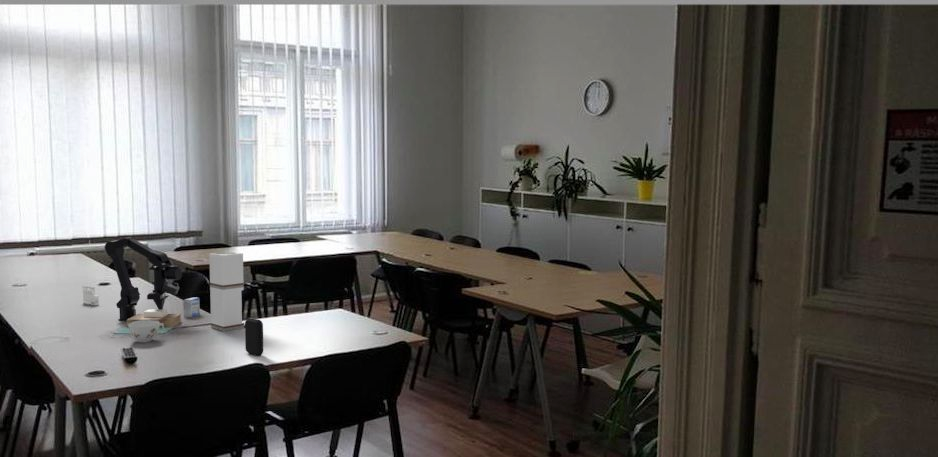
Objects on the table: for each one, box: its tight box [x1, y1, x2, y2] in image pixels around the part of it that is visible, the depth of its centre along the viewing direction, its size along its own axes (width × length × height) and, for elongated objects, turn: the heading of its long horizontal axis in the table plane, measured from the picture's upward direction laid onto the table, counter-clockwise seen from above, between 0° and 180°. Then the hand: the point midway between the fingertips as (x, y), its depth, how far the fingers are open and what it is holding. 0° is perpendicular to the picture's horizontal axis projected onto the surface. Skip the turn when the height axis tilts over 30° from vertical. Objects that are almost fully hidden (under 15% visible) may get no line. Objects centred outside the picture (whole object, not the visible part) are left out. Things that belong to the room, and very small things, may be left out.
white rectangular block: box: [143, 308, 169, 317], centre depth 376 cm, size 9×6×2 cm, turn 91°
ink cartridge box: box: [82, 285, 100, 306], centre depth 426 cm, size 2×11×10 cm, turn 57°
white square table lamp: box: [209, 251, 245, 332], centre depth 369 cm, size 11×11×35 cm
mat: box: [113, 326, 173, 335], centre depth 362 cm, size 22×12×1 cm, turn 91°
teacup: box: [128, 320, 164, 343], centre depth 342 cm, size 15×12×8 cm
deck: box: [126, 313, 182, 329], centre depth 374 cm, size 20×14×4 cm
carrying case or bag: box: [243, 317, 264, 357], centre depth 319 cm, size 11×3×15 cm, turn 54°
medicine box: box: [182, 296, 201, 318], centre depth 397 cm, size 8×4×9 cm, turn 168°
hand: (160, 311), depth 383 cm, fingers closed
